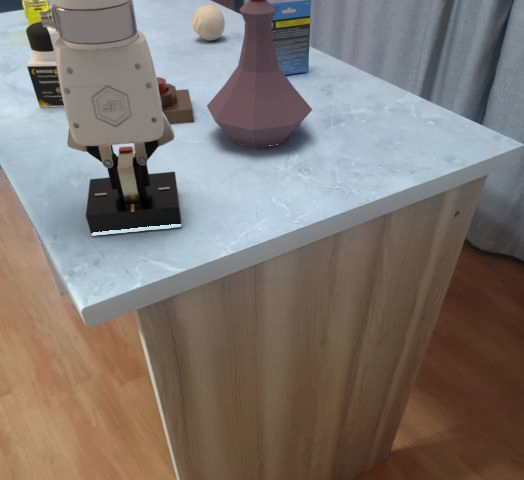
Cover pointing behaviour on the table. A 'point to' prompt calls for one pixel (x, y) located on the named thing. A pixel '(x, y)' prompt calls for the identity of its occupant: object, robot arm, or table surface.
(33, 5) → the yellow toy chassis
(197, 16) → the beige ball
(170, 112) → the button block
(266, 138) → the flask
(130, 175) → the beige two-tone block
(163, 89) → the button
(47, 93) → the medicine bottle
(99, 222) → the lever switch base
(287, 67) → the blue product box
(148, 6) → the table surface
